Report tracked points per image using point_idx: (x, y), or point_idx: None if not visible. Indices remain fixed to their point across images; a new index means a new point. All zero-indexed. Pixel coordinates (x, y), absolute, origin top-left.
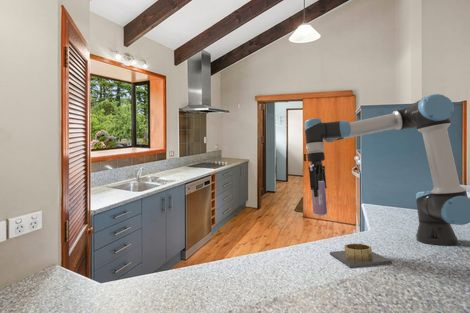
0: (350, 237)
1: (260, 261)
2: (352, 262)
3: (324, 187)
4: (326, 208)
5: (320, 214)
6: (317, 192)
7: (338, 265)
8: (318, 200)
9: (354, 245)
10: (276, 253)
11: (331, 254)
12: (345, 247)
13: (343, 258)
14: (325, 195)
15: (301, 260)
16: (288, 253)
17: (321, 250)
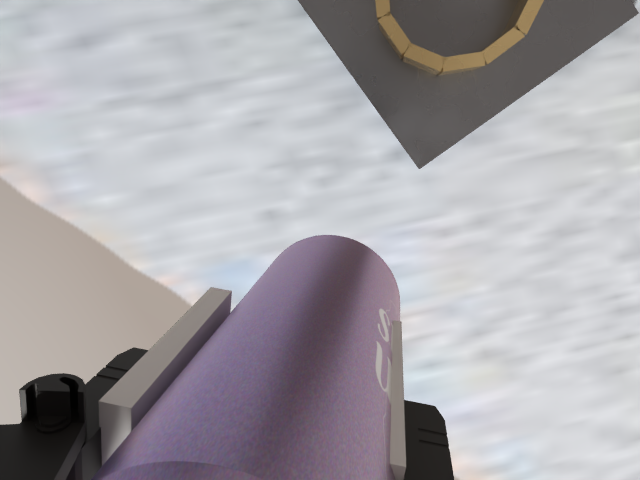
0: (5, 125)
1: (634, 457)
2: (597, 4)
3: (271, 401)
4: (328, 249)
5: (396, 285)
6: (417, 455)
7: (600, 85)
8: None
9: (391, 16)
10: (477, 425)
11: (436, 155)
12: (497, 55)
13: (529, 69)
14: (292, 314)
15: (563, 284)
16: (459, 372)
17: (346, 228)
